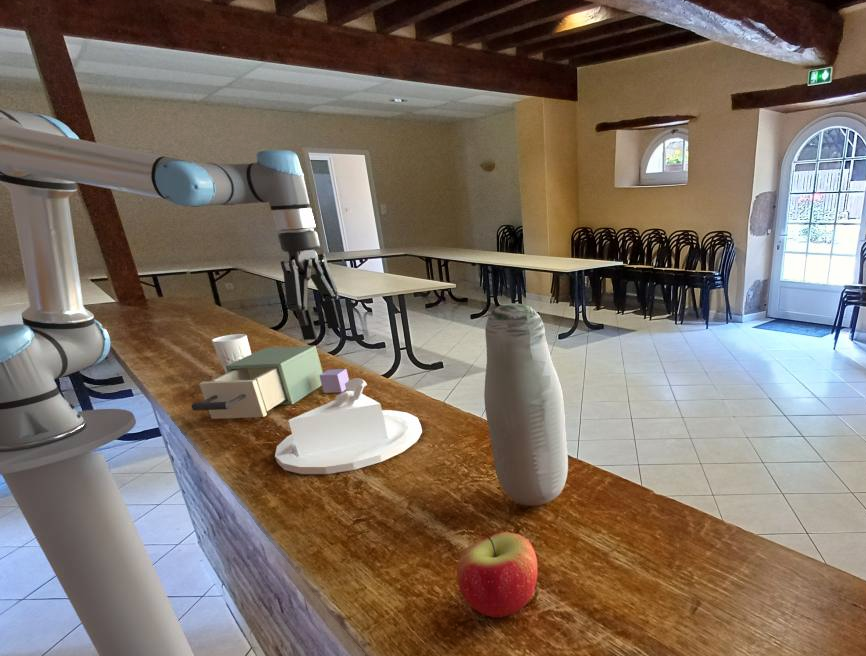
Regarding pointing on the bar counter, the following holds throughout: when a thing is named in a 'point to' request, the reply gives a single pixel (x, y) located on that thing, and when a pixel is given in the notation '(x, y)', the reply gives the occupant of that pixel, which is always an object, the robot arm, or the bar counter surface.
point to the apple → (498, 574)
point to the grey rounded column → (524, 407)
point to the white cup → (231, 348)
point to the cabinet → (288, 368)
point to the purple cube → (334, 380)
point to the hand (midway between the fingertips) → (323, 333)
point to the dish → (346, 434)
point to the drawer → (242, 393)
